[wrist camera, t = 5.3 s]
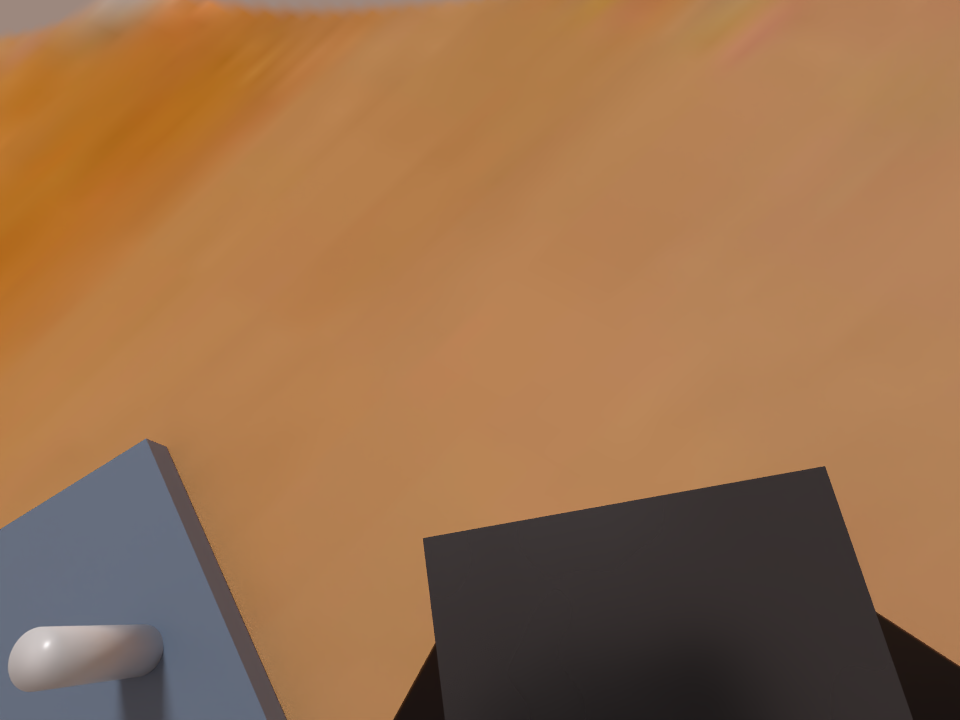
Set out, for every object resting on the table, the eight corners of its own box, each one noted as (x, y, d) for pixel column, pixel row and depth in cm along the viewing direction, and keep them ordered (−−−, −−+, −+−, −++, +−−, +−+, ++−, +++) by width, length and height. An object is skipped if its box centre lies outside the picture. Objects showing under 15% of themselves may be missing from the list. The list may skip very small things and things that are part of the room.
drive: (734, 795, 13) (1077, 1192, 4) (558, 821, 14) (509, 1249, 4) (675, 559, 15) (824, 466, 6) (518, 586, 15) (422, 537, 6)
